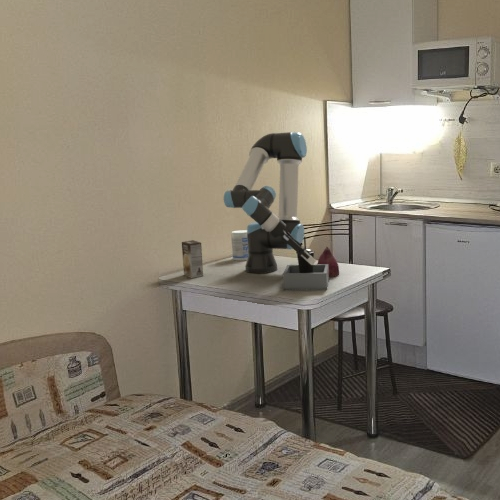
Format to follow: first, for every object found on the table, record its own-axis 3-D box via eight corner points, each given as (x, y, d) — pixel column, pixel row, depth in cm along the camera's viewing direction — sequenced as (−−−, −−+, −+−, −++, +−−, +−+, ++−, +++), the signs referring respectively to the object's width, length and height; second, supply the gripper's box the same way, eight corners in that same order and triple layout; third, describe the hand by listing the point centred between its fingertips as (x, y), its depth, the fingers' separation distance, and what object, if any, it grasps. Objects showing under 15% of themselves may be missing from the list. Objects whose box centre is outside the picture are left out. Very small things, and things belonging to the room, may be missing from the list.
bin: (287, 280, 307) (287, 265, 306) (329, 279, 304) (328, 264, 303) (283, 290, 289) (282, 274, 288) (327, 289, 286) (326, 273, 285)
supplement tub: (247, 261, 354) (245, 233, 351) (229, 261, 357) (228, 232, 355) (253, 257, 363) (252, 229, 360) (236, 257, 366) (235, 229, 364)
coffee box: (183, 275, 330) (180, 241, 327) (195, 273, 333) (193, 239, 330) (191, 278, 322) (189, 244, 319) (204, 276, 326) (201, 242, 323)
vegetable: (337, 284, 309) (340, 253, 302) (314, 281, 311) (316, 251, 304) (339, 273, 318) (342, 243, 312) (317, 270, 320) (319, 241, 314)
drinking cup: (296, 281, 299) (294, 235, 296) (313, 280, 300) (311, 234, 296) (299, 285, 292) (297, 238, 288) (317, 284, 293) (315, 237, 289)
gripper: (266, 228, 304) (304, 261, 307) (269, 236, 281) (309, 272, 284) (278, 215, 303) (315, 248, 306) (281, 223, 280) (322, 259, 283)
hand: (312, 260), depth 295 cm, fingers open, 10 cm apart
